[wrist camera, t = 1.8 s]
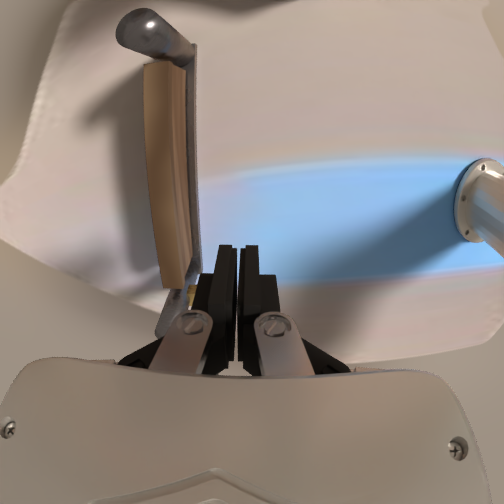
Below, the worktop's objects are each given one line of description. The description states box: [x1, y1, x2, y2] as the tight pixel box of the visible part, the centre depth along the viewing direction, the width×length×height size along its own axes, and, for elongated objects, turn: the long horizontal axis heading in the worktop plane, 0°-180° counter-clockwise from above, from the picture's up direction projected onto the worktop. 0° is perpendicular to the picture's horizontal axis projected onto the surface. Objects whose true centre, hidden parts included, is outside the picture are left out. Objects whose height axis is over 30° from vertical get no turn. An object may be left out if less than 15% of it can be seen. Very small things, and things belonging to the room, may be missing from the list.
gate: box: [143, 61, 193, 289], centre depth 24 cm, size 2×20×6 cm, turn 179°
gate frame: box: [116, 8, 203, 339], centre depth 23 cm, size 4×27×12 cm, turn 179°
